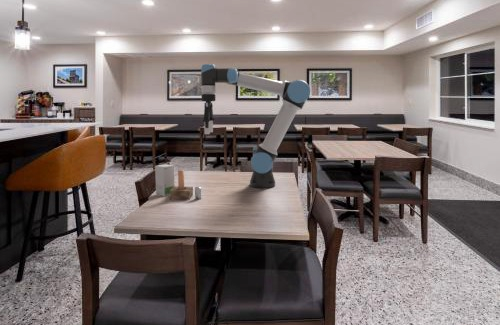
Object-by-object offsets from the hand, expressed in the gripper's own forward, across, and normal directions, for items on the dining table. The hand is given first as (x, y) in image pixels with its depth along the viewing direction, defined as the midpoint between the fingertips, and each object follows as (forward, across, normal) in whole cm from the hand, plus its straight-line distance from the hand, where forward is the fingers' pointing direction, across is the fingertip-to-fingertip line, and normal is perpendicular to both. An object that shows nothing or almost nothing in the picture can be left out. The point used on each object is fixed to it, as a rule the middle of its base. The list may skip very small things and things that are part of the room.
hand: (208, 133), depth 202 cm
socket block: (+32, +18, -12) cm, 38 cm away
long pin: (+32, +18, -12) cm, 38 cm away
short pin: (+32, +21, -3) cm, 38 cm away
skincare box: (+32, +12, -22) cm, 41 cm away
